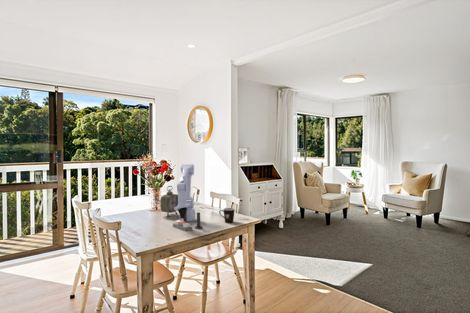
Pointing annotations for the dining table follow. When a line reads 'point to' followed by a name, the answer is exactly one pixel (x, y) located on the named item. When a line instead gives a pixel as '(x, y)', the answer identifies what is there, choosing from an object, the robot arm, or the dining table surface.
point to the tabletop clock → (169, 202)
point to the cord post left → (185, 217)
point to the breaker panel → (182, 226)
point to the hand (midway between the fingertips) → (182, 218)
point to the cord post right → (198, 221)
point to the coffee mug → (228, 214)
